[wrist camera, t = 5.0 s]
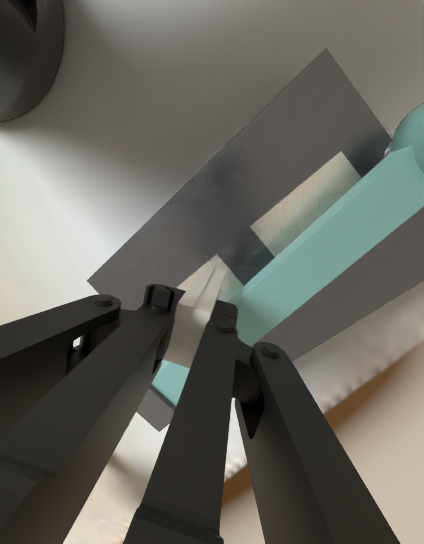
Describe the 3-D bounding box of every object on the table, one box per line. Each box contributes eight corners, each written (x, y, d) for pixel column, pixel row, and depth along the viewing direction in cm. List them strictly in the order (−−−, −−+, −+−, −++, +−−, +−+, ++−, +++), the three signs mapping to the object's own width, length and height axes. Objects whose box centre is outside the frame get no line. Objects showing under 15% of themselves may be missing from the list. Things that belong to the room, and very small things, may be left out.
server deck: (117, 265, 26) (62, 292, 19) (320, 73, 20) (360, -4, 12) (217, 375, 28) (203, 440, 20) (435, 231, 21) (534, 248, 14)
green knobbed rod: (441, 80, 13) (492, 48, 10) (495, 142, 13) (558, 128, 10) (136, 368, 20) (117, 394, 17) (175, 404, 20) (163, 436, 17)
